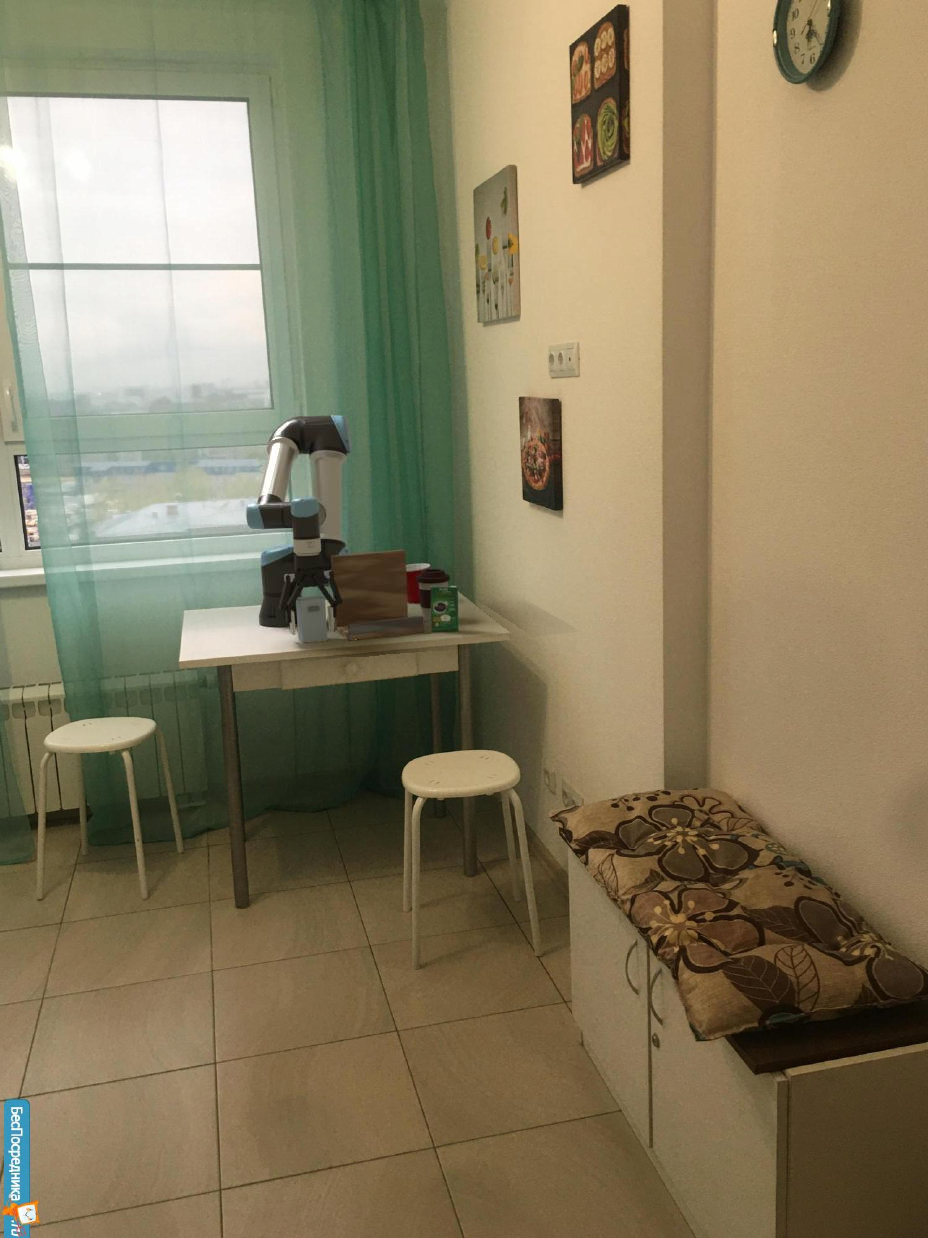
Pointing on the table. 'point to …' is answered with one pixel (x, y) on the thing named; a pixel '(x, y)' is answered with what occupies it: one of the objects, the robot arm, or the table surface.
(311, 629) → the small blue-gray block
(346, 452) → the robot arm
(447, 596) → the coffee box
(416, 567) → the plastic cup
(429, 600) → the coffee cup
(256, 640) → the table surface
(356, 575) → the brown wooden display stand
